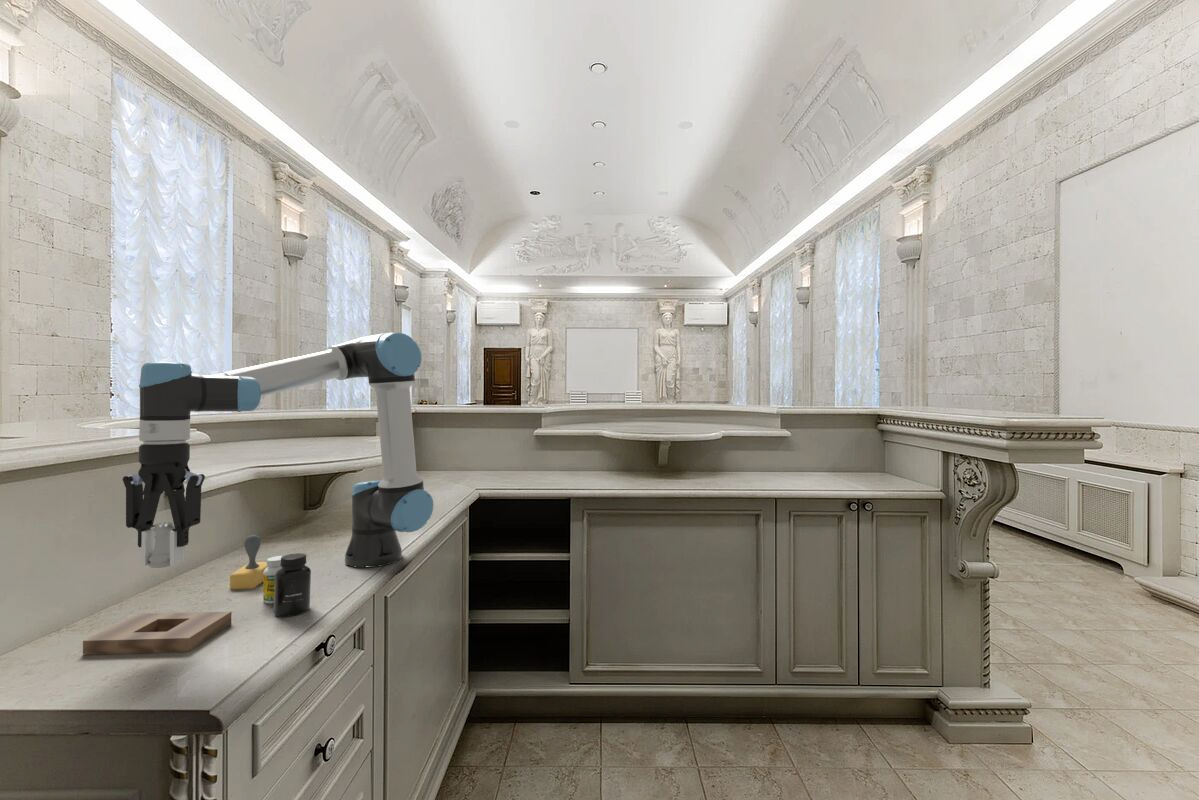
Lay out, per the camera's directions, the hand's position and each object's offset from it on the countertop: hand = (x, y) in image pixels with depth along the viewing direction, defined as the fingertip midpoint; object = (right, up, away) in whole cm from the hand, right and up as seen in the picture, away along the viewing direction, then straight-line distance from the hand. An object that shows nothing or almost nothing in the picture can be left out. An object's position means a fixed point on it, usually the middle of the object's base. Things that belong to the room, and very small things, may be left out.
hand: (163, 563), depth 98 cm
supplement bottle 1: (+10, -15, +19) cm, 26 cm away
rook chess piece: (0, 0, 0) cm, 0 cm away
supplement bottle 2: (+17, -15, +13) cm, 26 cm away
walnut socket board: (0, -14, 0) cm, 14 cm away
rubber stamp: (-4, -15, +32) cm, 35 cm away
